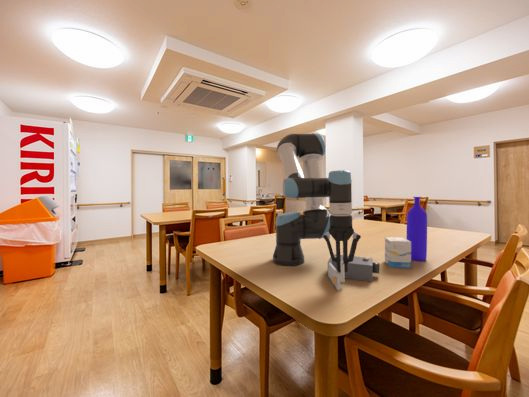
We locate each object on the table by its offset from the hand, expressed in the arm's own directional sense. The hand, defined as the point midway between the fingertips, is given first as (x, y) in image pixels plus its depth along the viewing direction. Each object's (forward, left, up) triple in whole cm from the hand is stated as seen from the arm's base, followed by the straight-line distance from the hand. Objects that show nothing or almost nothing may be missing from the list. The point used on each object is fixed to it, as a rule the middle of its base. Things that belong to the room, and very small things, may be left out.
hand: (342, 280), depth 84 cm
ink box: (+20, +34, -2) cm, 39 cm away
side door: (-4, +2, -2) cm, 4 cm away
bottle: (+29, +47, -2) cm, 55 cm away
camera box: (+3, +14, -2) cm, 14 cm away
